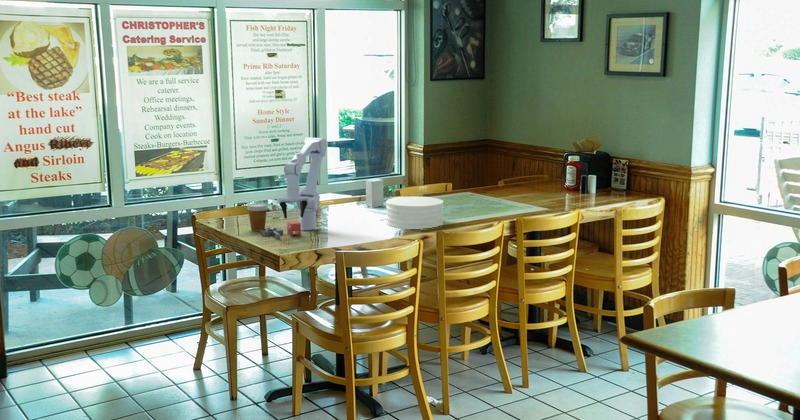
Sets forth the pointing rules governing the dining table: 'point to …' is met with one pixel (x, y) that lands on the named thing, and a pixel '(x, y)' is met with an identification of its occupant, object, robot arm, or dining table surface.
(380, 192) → the skincare box
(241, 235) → the dining table surface
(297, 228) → the block
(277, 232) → the lip
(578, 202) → the dining table surface
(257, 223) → the disposable coffee cup
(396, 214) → the plate stack
